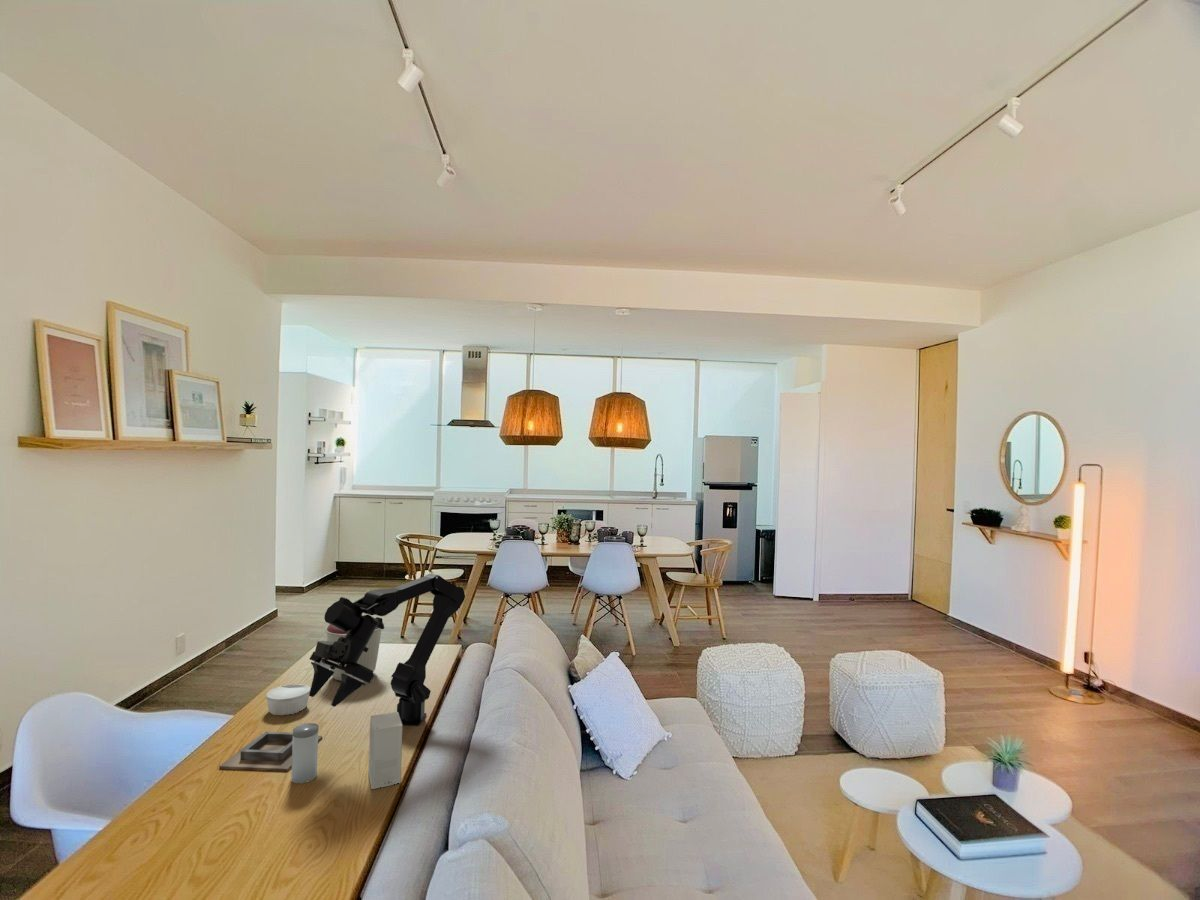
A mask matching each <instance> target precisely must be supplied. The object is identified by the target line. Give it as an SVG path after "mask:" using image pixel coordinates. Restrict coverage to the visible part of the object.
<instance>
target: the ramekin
mask: <svg viewBox="0 0 1200 900" xmlns="http://www.w3.org/2000/svg"><path fill="white" fill-rule="evenodd" d="M310 689H311V686H309V685H306V684H300V683H299V684H298V683H295V684H294V683H293V684H284V685H281V686H280V685H279V686H277V687H274V688H272V689H270V690H269V691H268V692H267V693H266V695H265V699H266V701H267V708H268V709H267V710H268V712H269V713H270V714H271V715H273V716H275V715H287V716H290V715H289V714H292V715H295V714H294V713H296V714H298V713H300V712H299V711H301V710H302V711H303V709H304V710H305V709H306V707H307V706H308V701H309V698H310V696H309V694H310ZM302 711H301V712H302ZM297 712H298V713H297Z"/></svg>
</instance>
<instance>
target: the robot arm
mask: <svg viewBox="0 0 1200 900" xmlns="http://www.w3.org/2000/svg"><path fill="white" fill-rule="evenodd" d="M427 593H430V594H432V595H433V596H434V597H433V600H432V613H431V615H430V616H429V618H428V620H427V623H426V624H425V627H424V628H423V631H422V632H421V634H420V636H419V638H418V641H417V643H416V645H415V646H414V649H413V651H412V652H411V654H410V656H409V658H408V659H407V660H406V661H405V662H398V663H397V664H396V668H395V670H394V672H393V673H392V674H391V680H390V686H391V688H390V689H391V690H392V692H394V695H395V697H396V698H397V697H398V698H399V699H398V703H397V704H396V712H398V713H399V716H400V719H401V722H402V725H403V726H404V725H405V726H407V725H408V726H419V725H421V723H422V721H424V719H425V718H426V716H427V713H426V712H425V707H426V706H425V705H426V704H425V703H426V700H428V699H430V695H431V689H430V688H428V687H427V686H426V685H425V681H426V676H427V672H426V667H427V663H428V661H430V658H431V655H432V654H433V651H434V649H435V647H436V645H437V643H438V641H439V639H440V637H441V635H442V633H443V631H444V628H445V626H446V624H447V622H448V621H449V619H450V617H452V616H453V615H454V614H456V612H458V611H459V609H460V607H461V606H462V605H463V603H464V601H465V599H466V593H465V590H464V588H463V587H461V586H458V585H455V584H453V583H452V582H450V581H448V580H446V579H444V578H443V577H442V576H441V575H440V574H439V575H438V574H433V573H428V574H424V576H422V577H419V578H416V579H414V580H411V581H408V582H405V583H403V584H399V585H398V586H395V587H391V588H378V589H373V590H369V591H367V592H366V593H364V596H362V597H361V598H359V599H357V600H355V601H354V602H352V601H351V600H350V599H349V598H347V597H344V596H340V598H339V599H338V601H335V602H333V603H332V604H331V605H330V606H329V607H328V608H327V609H326V611H325V613H324V619H323V620H324V621H325V622H326V623H327V624H328V625H330V624H331V625H333V626H334V627H336V628H338V629H340V630H342V631H344V632H346V631H348V632H347V634H346V636H345V638H344V637H340V638H339V639H338V641H335V642H331V641H326V640H318V641H317V643H316V646H315V649H314V651H313V652H312V653H311V655H310V657H309V660H310V661H311V662H310V664H311V665H312V667H313V671H314V672H313V677H312V682H311V686H310V688H311V689H310V694H309V697H311V698H313V697H315V696H316V695H317V694H318V692H320V690H321V689H322V688H323V687H324V686H325V684H326V683H327V682H328V681H329V680H330V678H331V677H333V676H332V675H333V674H334V672H333V671H331V670H330V669H333V670H334V669H335V668H338V669H340V670H343V671H345V673H348V675H345V674H342V673H341V679H342V681H340V682H341V683H340V684H339V687H338V689H337V690H336V693H335V695H334V697H333V699H332V702H331V704H330V706H332V707H334V708H335V707H337V706H338V705H339V704H340V703H341V702H343V701H344V700H346V698H347V697H348V696H350V695H352V694H353V693H354V692H355V691H357V690H358V689H360V688H361V687H362V686H365V685H366V683H368V684H371V682H372V680H373V678H374V672H373V671H372V670H370V669H368V668H366V667H364V666H362V665H360V664H358V663H357V662H358V660H359V658H360V656H361V654H362V653H363V651H364V652H367V651H368V649H369V648H367V647H366V645H367V644H368V642H369V640H370V638H371V636H372V635H373V633H374V631H375V629H376V628H380V629H381V630H384V629H385V623H384V622H383V618H382V617H385V616H387V615H389V614H390V613H392V612H393V611H395V610H397V608H398V607H399V606H400V605H401V604H402V603H405V602H407V601H409V600H411V599H412V600H413V599H415V598H417V597H420V596H422V595H424V594H427ZM363 614H364V615H363ZM374 615H375V616H377V617H374ZM378 616H379V617H378ZM383 623H384V624H383ZM339 663H340V664H339ZM345 664H346V667H345ZM365 682H366V683H365Z"/></svg>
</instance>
